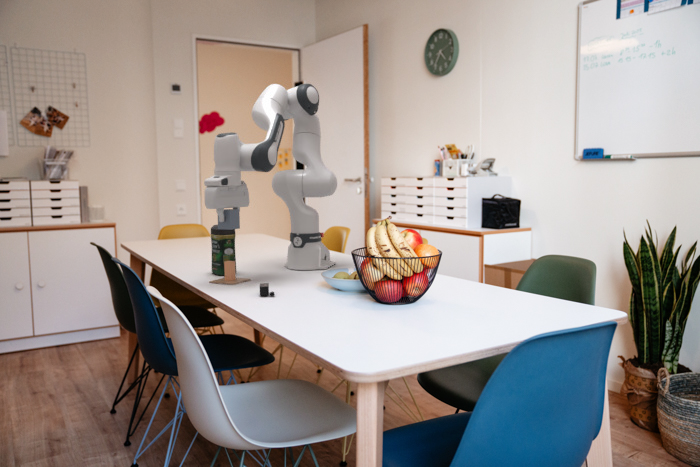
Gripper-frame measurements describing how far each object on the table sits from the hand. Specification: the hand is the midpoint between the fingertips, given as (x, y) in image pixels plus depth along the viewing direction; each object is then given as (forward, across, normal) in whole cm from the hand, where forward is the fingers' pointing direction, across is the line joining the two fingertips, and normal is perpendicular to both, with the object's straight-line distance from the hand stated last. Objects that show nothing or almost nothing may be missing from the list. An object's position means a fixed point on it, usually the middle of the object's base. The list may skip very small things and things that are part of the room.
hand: (228, 221), depth 196 cm
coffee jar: (+21, -12, -12) cm, 27 cm away
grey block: (+3, 0, 0) cm, 3 cm away
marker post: (+21, 0, 0) cm, 21 cm away
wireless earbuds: (+21, +13, +24) cm, 35 cm away
